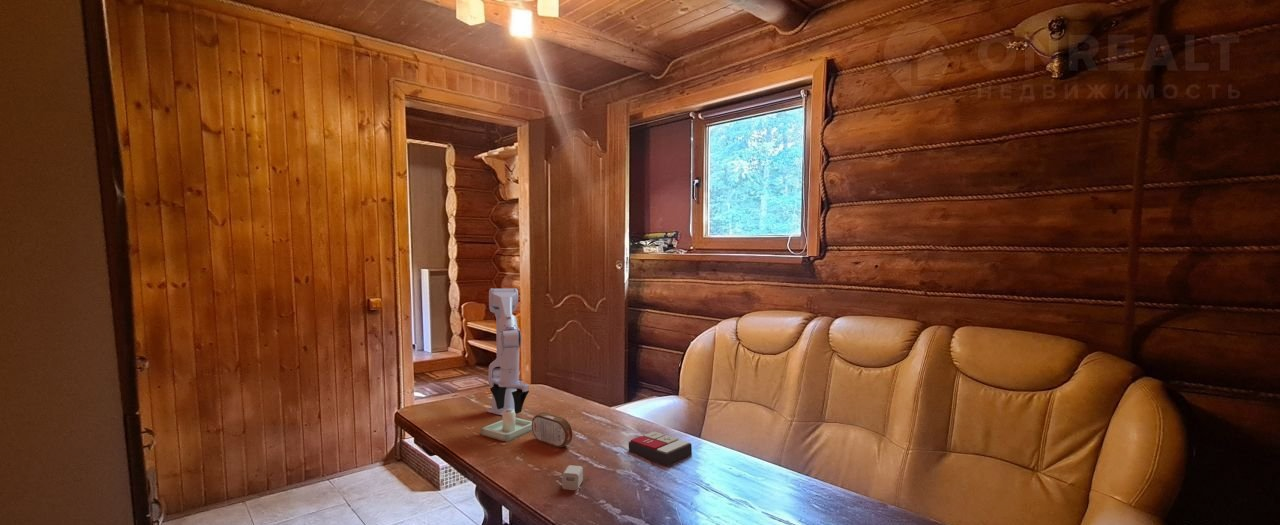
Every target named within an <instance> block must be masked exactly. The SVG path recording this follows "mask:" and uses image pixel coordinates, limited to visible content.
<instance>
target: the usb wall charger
mask: <svg viewBox="0 0 1280 525" xmlns="http://www.w3.org/2000/svg"><path fill="white" fill-rule="evenodd" d="M561 478H562V482H561V486H562V489H563V490H570V491H578V489H579V488H580V486H581V484H582V482H583V480H584V468H583V466H581V465H570V464H569V465H568V466H567V467H566V469H565V470H564V472H563V474H562V477H561Z"/></svg>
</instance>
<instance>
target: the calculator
mask: <svg viewBox="0 0 1280 525" xmlns="http://www.w3.org/2000/svg"><path fill="white" fill-rule="evenodd" d="M692 449H693V447H692V442H689V441H686V440H682V439H679V438H678V437H675V436H670V435H668V434H667V435H666V434H664V433H661V432H658V431H651V432H648V433H645V434H643V435H640V436H638V437H635V438H632V439H630V441H628V452H630V453H633V454H635V455H638V456H641V457H643V458H645V459H648V460H650V461H653V462H655V463H656V462H657V464H659V465H661V466H663V467H671V466H673V465H674V464H676V463H679V462H681V461H684V460H686V459H687V458H690V457H692V453H693V451H692Z"/></svg>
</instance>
